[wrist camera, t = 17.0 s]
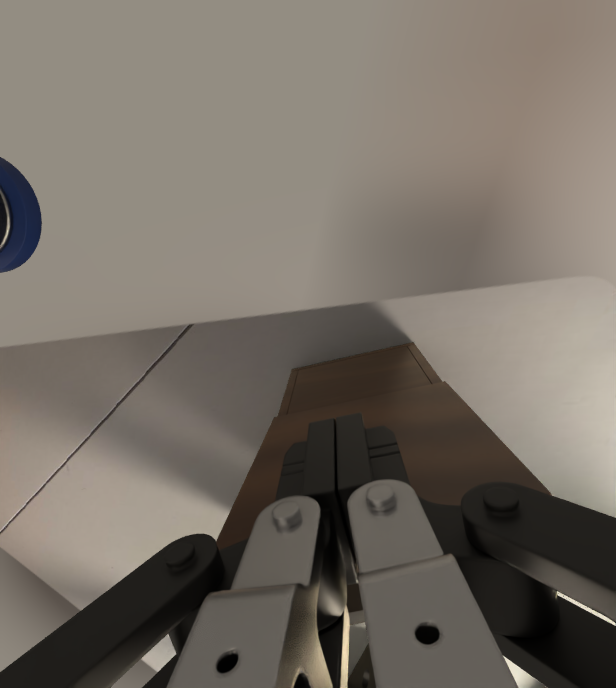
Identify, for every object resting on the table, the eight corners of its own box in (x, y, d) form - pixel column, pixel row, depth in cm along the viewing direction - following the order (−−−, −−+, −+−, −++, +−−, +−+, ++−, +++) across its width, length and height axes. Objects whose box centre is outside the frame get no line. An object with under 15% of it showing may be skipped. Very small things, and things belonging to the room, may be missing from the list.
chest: (438, 470, 46) (475, 553, 34) (324, 491, 47) (321, 578, 35) (413, 341, 42) (444, 384, 30) (291, 369, 44) (276, 419, 32)
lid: (555, 513, 15) (552, 493, 15) (215, 571, 16) (210, 553, 16) (447, 391, 30) (445, 380, 30) (276, 427, 31) (273, 417, 31)
